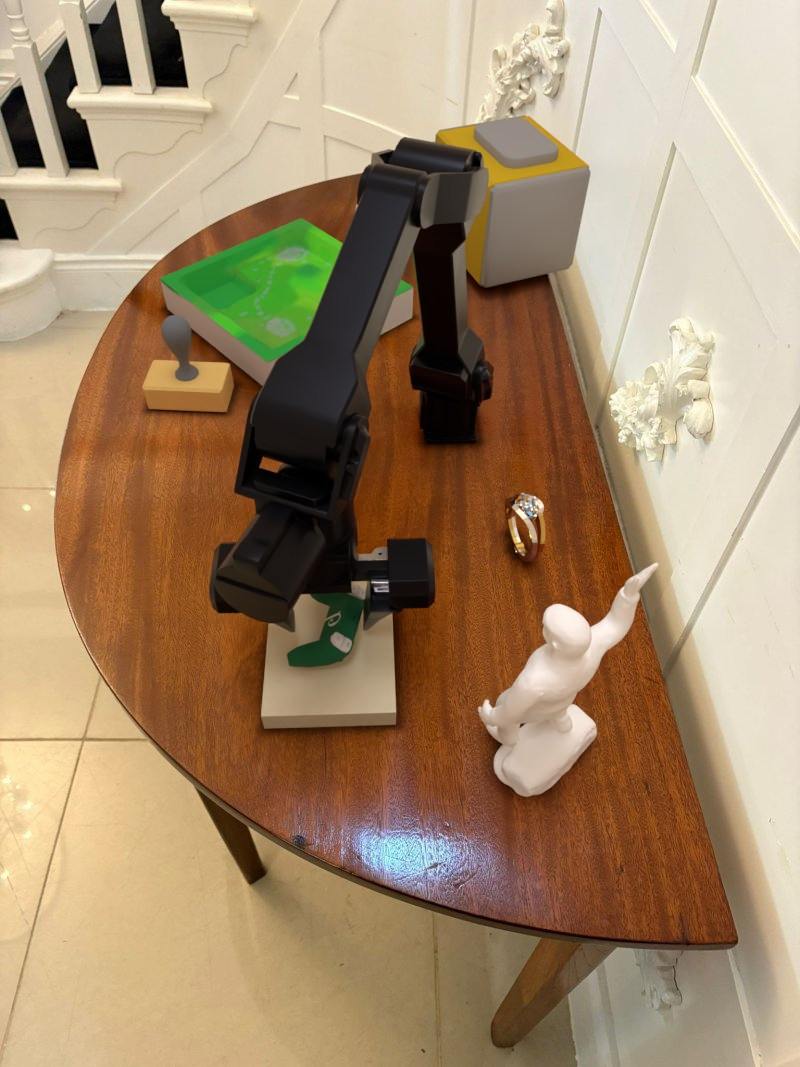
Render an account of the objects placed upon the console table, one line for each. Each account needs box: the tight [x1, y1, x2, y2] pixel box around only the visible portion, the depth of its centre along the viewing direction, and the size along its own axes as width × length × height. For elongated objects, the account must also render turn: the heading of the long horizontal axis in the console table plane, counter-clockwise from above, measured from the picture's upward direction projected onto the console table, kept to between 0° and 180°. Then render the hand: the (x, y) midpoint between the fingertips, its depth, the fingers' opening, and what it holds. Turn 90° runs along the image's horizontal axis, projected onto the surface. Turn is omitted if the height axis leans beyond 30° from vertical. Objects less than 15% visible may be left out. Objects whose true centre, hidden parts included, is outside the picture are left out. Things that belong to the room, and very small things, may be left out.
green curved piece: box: [287, 583, 366, 667], centre depth 72 cm, size 9×4×6 cm
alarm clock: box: [434, 114, 591, 289], centre depth 115 cm, size 20×16×18 cm
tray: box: [159, 217, 414, 387], centre depth 110 cm, size 25×25×5 cm
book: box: [260, 581, 397, 730], centre depth 75 cm, size 12×16×2 cm
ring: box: [504, 492, 547, 562], centre depth 81 cm, size 7×3×8 cm, turn 14°
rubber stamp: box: [141, 314, 235, 413], centre depth 95 cm, size 10×6×12 cm, turn 87°
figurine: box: [477, 562, 659, 798], centre depth 60 cm, size 12×8×25 cm
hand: (329, 627), depth 73 cm, fingers closed on green curved piece, 6 cm apart
